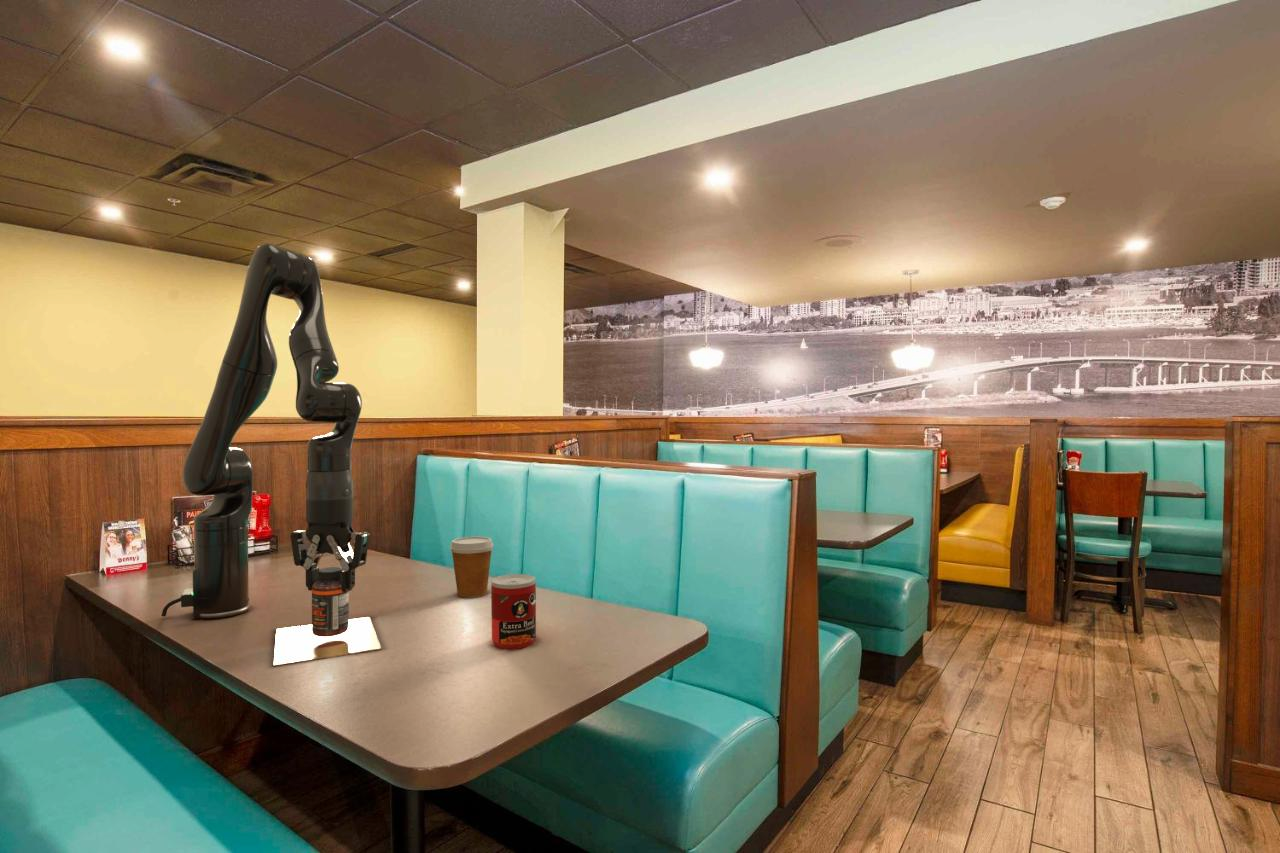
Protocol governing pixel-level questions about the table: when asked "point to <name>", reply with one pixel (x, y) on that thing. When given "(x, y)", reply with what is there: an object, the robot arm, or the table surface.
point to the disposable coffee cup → (471, 565)
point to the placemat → (324, 642)
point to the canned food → (513, 611)
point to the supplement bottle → (329, 603)
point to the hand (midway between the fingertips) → (330, 589)
